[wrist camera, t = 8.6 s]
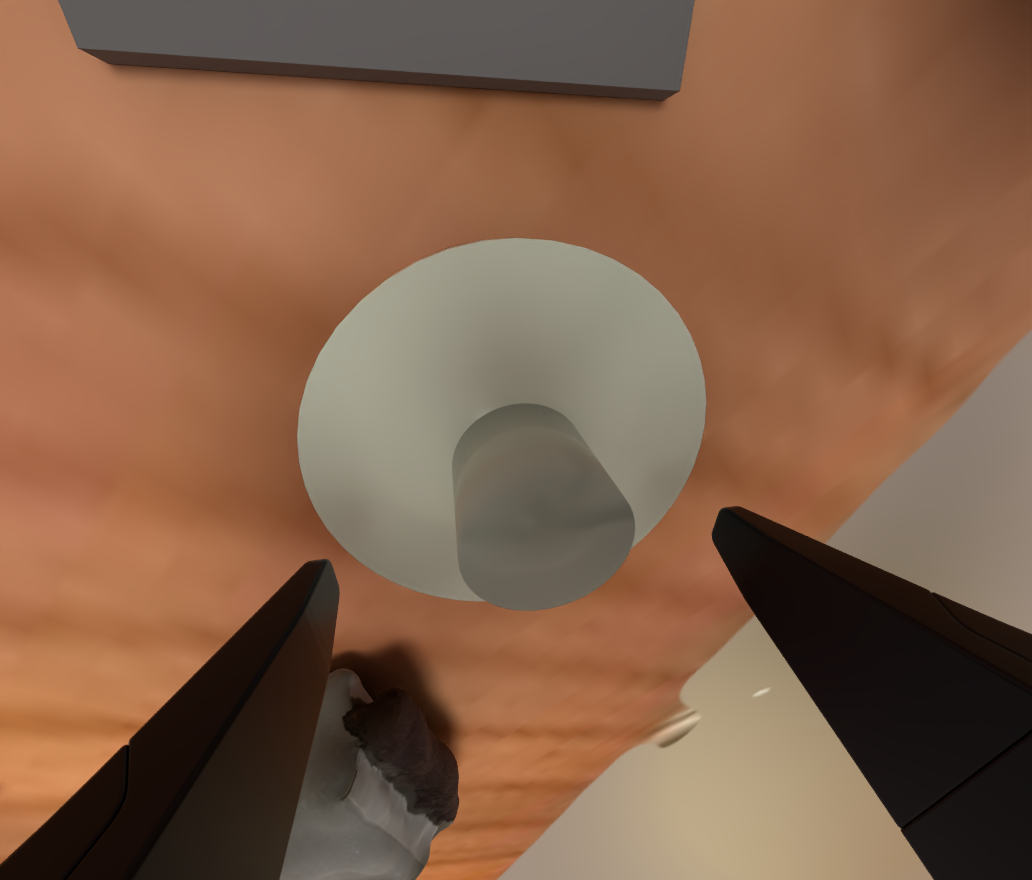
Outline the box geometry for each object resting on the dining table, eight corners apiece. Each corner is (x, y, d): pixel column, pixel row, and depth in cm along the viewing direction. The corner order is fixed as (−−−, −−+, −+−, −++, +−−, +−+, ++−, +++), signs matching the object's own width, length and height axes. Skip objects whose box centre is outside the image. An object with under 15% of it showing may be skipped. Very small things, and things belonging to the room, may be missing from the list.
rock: (476, 756, 32) (486, 895, 26) (344, 794, 32) (318, 949, 25) (413, 627, 23) (402, 790, 16) (224, 676, 22) (131, 871, 16)
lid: (730, 236, 10) (910, 239, 6) (652, 556, 16) (722, 660, 12) (243, 238, 8) (77, 246, 4) (357, 601, 14) (327, 740, 10)
